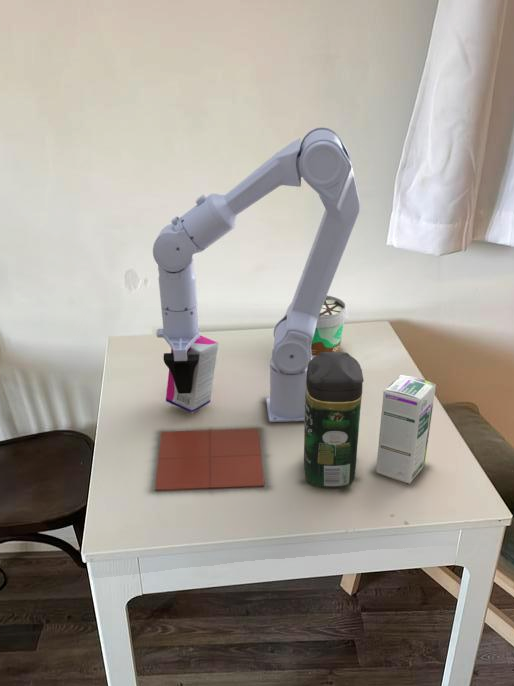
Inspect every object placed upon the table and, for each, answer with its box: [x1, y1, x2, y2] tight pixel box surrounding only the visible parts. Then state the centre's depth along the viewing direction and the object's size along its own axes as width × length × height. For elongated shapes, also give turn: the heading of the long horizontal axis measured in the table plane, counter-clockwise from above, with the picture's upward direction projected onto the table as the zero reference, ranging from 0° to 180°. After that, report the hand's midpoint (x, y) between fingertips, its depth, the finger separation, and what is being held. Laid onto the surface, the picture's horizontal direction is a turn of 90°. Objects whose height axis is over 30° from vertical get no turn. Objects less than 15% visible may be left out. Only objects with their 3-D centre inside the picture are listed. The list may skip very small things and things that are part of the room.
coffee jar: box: [303, 351, 364, 489], centre depth 100 cm, size 10×8×19 cm
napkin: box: [155, 428, 265, 492], centre depth 108 cm, size 16×16×1 cm
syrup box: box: [375, 374, 436, 485], centre depth 102 cm, size 6×6×14 cm
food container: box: [311, 294, 349, 359], centre depth 136 cm, size 12×6×10 cm, turn 168°
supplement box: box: [165, 334, 219, 414], centre depth 117 cm, size 6×6×12 cm
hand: (185, 381), depth 118 cm, fingers closed on supplement box, 7 cm apart
